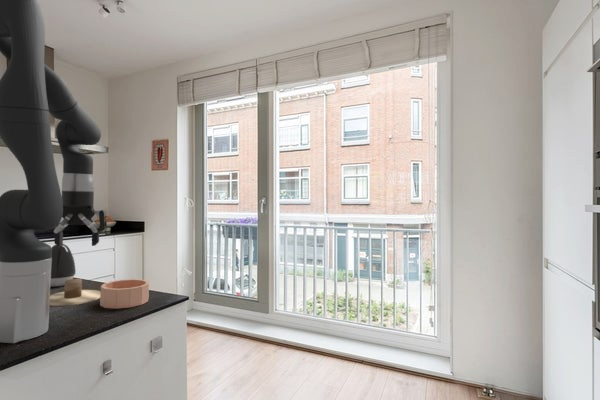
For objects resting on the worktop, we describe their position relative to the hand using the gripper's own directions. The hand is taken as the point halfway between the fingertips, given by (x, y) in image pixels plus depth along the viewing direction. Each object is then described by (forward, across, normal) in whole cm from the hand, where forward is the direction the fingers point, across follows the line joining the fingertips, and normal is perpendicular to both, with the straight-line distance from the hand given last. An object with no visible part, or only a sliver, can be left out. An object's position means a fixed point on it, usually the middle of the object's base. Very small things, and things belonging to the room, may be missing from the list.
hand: (77, 245), depth 91 cm
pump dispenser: (+20, -15, +30) cm, 39 cm away
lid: (+19, -4, +10) cm, 22 cm away
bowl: (+18, +12, +3) cm, 22 cm away
